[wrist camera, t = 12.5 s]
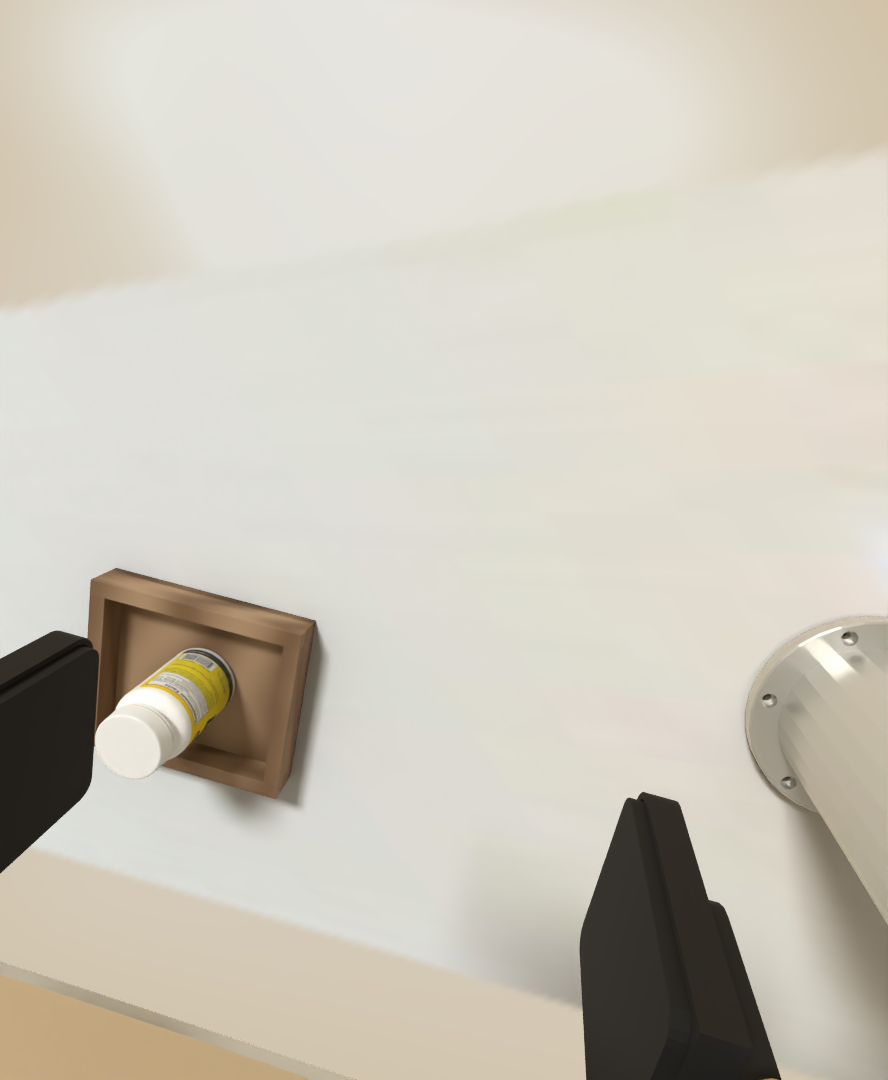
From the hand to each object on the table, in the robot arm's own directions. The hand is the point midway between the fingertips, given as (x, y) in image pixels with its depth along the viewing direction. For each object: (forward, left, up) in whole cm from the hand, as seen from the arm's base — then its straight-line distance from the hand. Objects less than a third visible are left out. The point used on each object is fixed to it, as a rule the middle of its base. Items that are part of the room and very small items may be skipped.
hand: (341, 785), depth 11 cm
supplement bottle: (+16, +17, -28) cm, 36 cm away
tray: (+16, +17, -28) cm, 37 cm away
